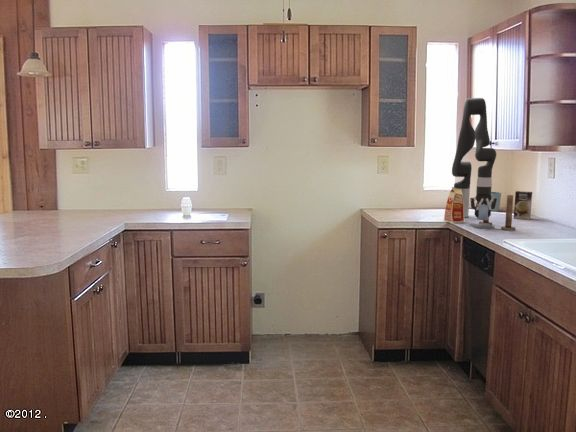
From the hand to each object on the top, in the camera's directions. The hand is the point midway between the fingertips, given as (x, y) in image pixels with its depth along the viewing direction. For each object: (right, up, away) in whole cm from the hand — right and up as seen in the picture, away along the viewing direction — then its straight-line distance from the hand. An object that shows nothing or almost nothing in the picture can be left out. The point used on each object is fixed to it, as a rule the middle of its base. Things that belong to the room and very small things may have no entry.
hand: (482, 216), depth 304 cm
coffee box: (+34, -1, +31) cm, 47 cm away
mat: (0, -6, +1) cm, 6 cm away
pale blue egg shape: (0, -2, 0) cm, 2 cm away
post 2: (+11, -7, -7) cm, 15 cm away
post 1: (+5, -4, +9) cm, 11 cm away
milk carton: (-9, -3, +19) cm, 22 cm away
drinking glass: (+29, +4, +65) cm, 71 cm away
